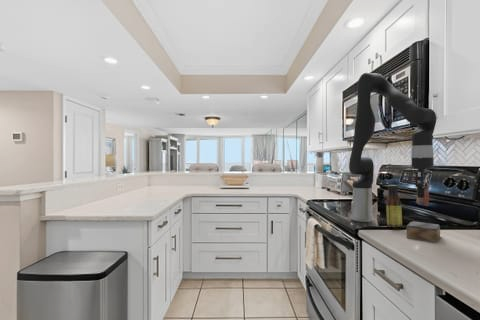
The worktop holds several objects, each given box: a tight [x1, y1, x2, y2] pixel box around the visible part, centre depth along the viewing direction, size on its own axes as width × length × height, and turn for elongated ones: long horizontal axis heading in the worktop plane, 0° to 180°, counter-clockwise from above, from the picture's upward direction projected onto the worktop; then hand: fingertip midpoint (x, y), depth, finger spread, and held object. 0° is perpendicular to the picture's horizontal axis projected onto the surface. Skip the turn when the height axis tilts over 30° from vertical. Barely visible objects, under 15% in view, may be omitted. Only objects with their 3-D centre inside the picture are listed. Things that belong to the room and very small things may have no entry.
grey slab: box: [405, 221, 441, 243], centre depth 110 cm, size 10×10×5 cm
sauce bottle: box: [385, 184, 403, 228], centre depth 126 cm, size 6×6×20 cm
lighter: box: [416, 181, 430, 207], centre depth 110 cm, size 8×3×10 cm, turn 165°
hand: (422, 196), depth 110 cm, fingers closed on lighter, 7 cm apart
